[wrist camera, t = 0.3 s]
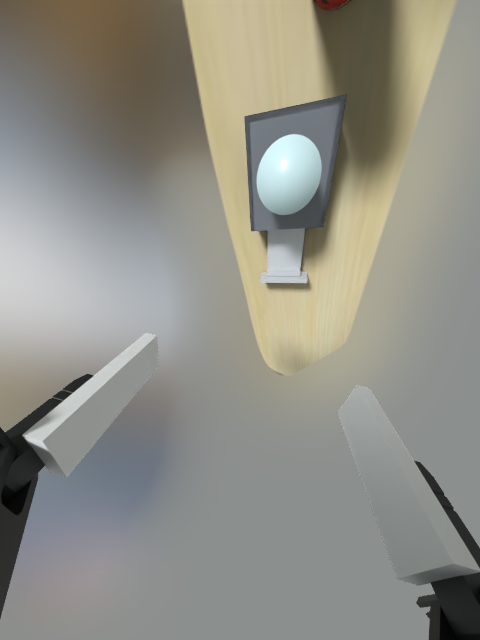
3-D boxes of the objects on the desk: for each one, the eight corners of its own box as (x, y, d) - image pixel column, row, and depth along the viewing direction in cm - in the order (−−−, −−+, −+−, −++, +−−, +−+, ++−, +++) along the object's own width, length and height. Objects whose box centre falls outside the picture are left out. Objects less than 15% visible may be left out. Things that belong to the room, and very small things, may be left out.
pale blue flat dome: (308, 119, 16) (310, 114, 14) (326, 192, 18) (329, 194, 17) (249, 164, 18) (246, 164, 17) (272, 222, 21) (271, 225, 20)
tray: (260, 207, 27) (257, 210, 25) (316, 202, 25) (318, 205, 23) (261, 275, 34) (259, 282, 32) (305, 275, 32) (306, 283, 30)
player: (252, 125, 22) (238, 108, 16) (336, 108, 20) (355, 82, 14) (256, 223, 29) (247, 236, 23) (319, 219, 27) (326, 233, 21)
